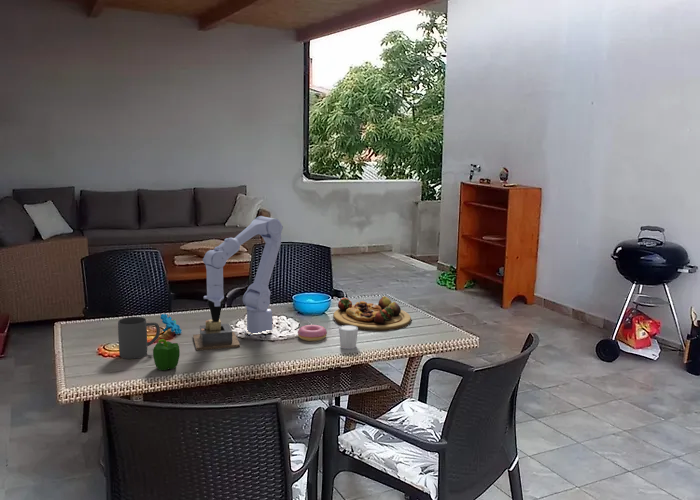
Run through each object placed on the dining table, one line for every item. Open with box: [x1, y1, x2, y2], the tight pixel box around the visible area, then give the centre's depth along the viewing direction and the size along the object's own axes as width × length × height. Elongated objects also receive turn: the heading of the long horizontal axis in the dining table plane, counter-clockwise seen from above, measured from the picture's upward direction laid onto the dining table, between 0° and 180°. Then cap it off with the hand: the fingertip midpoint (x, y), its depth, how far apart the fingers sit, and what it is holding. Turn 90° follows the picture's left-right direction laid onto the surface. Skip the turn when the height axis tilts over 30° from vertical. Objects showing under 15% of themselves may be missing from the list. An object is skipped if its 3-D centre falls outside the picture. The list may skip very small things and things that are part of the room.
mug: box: [117, 316, 161, 360], centre depth 219 cm, size 14×9×12 cm
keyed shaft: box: [204, 318, 222, 332], centre depth 233 cm, size 5×4×7 cm
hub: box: [192, 323, 241, 351], centre depth 233 cm, size 15×15×5 cm
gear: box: [159, 313, 182, 335], centre depth 242 cm, size 11×6×10 cm
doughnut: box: [297, 324, 328, 342], centre depth 241 cm, size 11×11×4 cm
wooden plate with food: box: [332, 295, 412, 332], centre depth 266 cm, size 32×32×8 cm
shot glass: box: [338, 325, 359, 350], centre depth 232 cm, size 7×7×7 cm
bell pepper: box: [152, 338, 181, 371], centre depth 207 cm, size 8×8×10 cm
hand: (215, 320), depth 232 cm, fingers closed, pressing on keyed shaft
